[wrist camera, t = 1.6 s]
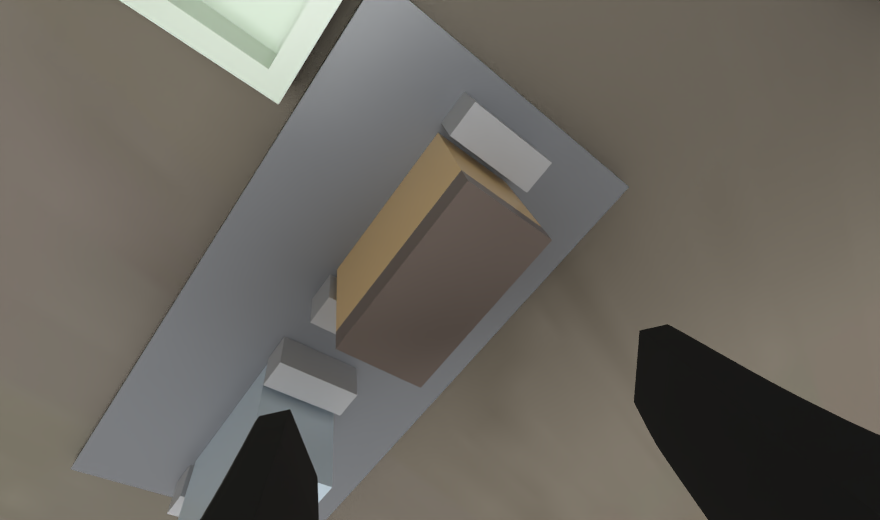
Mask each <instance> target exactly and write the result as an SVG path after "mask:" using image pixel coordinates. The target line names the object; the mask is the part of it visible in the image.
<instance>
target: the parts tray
mask: <svg viewBox="0 0 880 520" xmlns="http://www.w3.org/2000/svg"><path fill="white" fill-rule="evenodd" d="M120 1H121V2H123V3H124V4H126V5H127V6H129V7H130V8H132V9H134V10H135V11H137V12H138V13H140V14H141V15H143V16H144V17H146V18H147V19H149V20H150V21H152V22H153V23H155V24H156V25H158V26H159V27H161V28H163V29H164V30H166V31H167V32H169V33H170V34H172V35H173V36H175V37H176V38H178V39H179V40H181V41H182V42H184V43H185V44H187V45H188V46H190V47H192V48H193V49H195V50H196V51H198V52H199V53H201V54H202V55H204V56H205V57H207V58H208V59H210V60H211V61H213V62H214V63H216V64H218V65H219V66H221V67H222V68H224V69H225V70H227V71H228V72H230V73H231V74H233V75H234V76H236V77H237V78H239V79H240V80H242V81H243V82H245V83H247V84H248V85H250V86H251V87H253V88H254V89H256V90H257V91H259V92H260V93H262V94H263V95H265V96H266V97H268V98H269V99H271V100H272V101H274V102H276V103H277V104H279V103H280V101H281V100H282V98H283V96H284V95H285V93H286V92H287V90H288V88H289V87H290V85H291V83H292V82H293V80H294V78H295V77H296V75H297V74H298V72H299V70H300V69H301V67H302V65H303V64H304V62H305V60H306V59H307V57H308V56H309V54H310V52H311V51H312V49H313V47H314V46H315V44H316V42H317V41H318V39H319V38H320V36H321V34H322V33H323V31H324V29H325V28H326V26H327V24H328V23H329V21H330V20H331V18H332V16H333V15H334V13H335V11H336V10H337V8H338V6H339V5H340V3H341V1H342V0H120Z"/></svg>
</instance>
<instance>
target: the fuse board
mask: <svg viewBox="0 0 880 520" xmlns="http://www.w3.org/2000/svg"><path fill="white" fill-rule="evenodd" d="M437 133H439V134H441V135H442V136H443V137H445V138H446V139H447V140H449V141H450V142H452V143H453V144H454V145H456V146H457V147H458V148H460V149H461V150H462V151H464V152H465V153H466V154H468V155H469V156H471V157H472V158H473V159H475V160H476V161H477V162H479V163H480V164H481V165H483V166H484V167H486V168H487V169H488V170H490V171H491V172H492V173H494V174H495V175H496V176H498V177H499V178H501V179H502V180H503V181H505V182H506V183H507V185H508V186H509V187H510V188H511V190H512V191H513V192H514V193H515V195H516V196H517V197H518V198H519V200H520V201H521V202H522V203H523V204H524V206H525V207H526V208H527V209H528V211H529V212H530V213H531V214H532V216H533V217H534V218H535V219H536V221H537V222H538V223H539V224H540V226H541V227H542V228H543V229H544V231H545V232H546V233H547V234H548V236H549V237H550V238H551V239H552V241H551V242H550V243H549V244H548V245H547V246H546V248H545V249H544V250H543V251H542V252H541V253H540V254H539V255H538V257H537V258H536V259H535V260H534V261H533V262H532V263H531V264H530V266H529V267H528V268H527V269H526V270H525V271H524V272H523V273H522V275H521V276H520V277H519V278H518V279H517V280H516V281H515V282H514V284H513V285H512V286H511V287H510V288H509V289H508V290H507V291H506V293H505V294H504V295H503V296H502V297H501V298H500V299H499V300H498V302H497V303H496V304H495V305H494V306H493V307H492V308H491V309H490V311H489V312H488V313H487V314H486V315H485V316H484V317H483V318H482V320H481V321H480V322H479V323H478V324H477V325H476V326H475V327H474V329H473V330H472V331H471V332H470V333H469V334H468V335H467V336H466V338H465V339H464V340H463V341H462V342H461V343H460V344H459V345H458V347H457V348H456V349H455V350H454V351H453V352H452V353H451V354H450V356H449V357H448V358H447V359H446V360H445V361H444V362H443V363H442V365H441V366H440V367H439V368H438V369H437V370H436V371H435V372H434V374H433V375H432V376H431V377H430V378H429V379H428V380H427V381H426V383H425V384H424V385H423V386H422V387H421V388H420V387H417V386H415V385H413V384H411V383H409V382H407V381H404V380H402V379H400V378H398V377H396V376H393V375H391V374H389V373H387V372H385V371H383V370H380V369H378V368H376V367H374V366H372V365H370V364H367V363H365V362H363V361H361V360H359V359H356V358H354V357H352V356H350V355H348V354H346V353H343V352H341V351H339V350H337V349H336V302H337V269H338V268H339V266H340V265H341V263H342V262H343V261H344V259H345V258H346V257H347V255H348V254H349V253H350V251H351V250H352V249H353V247H354V246H355V245H356V243H357V242H358V240H359V239H360V238H361V236H362V235H363V234H364V232H365V231H366V230H367V228H368V227H369V226H370V224H371V223H372V221H373V220H374V219H375V217H376V216H377V215H378V213H379V212H380V211H381V209H382V208H383V207H384V205H385V204H386V202H387V201H388V200H389V198H390V197H391V196H392V194H393V193H394V192H395V190H396V189H397V188H398V186H399V185H400V184H401V182H402V181H403V179H404V178H405V177H406V175H407V174H408V173H409V171H410V170H411V169H412V167H413V166H414V165H415V163H416V162H417V160H418V159H419V158H420V156H421V155H422V154H423V152H424V151H425V150H426V148H427V147H428V146H429V144H430V143H431V142H432V140H433V139H434V137H435V136H436V135H437ZM628 188H629V186H627V185H626V184H625V183H624V182H623V181H622V180H620V179H619V178H618V177H617V176H616V175H615V174H613V173H612V172H611V171H610V170H609V169H607V168H606V167H605V166H604V165H603V164H602V163H600V162H599V161H598V160H597V159H596V158H594V157H593V156H592V155H591V154H590V153H589V152H587V151H586V150H585V149H584V148H583V147H581V146H580V145H579V144H578V143H577V142H576V141H574V140H573V139H572V138H571V137H570V136H569V135H567V134H566V133H565V132H564V131H563V130H561V129H560V128H559V127H558V126H557V125H556V124H554V123H553V122H552V121H551V120H550V119H548V118H547V117H546V116H545V115H544V114H543V113H541V112H540V111H539V110H538V109H537V108H535V107H534V106H533V105H532V104H531V103H530V102H528V101H527V100H526V99H525V98H524V97H523V96H521V95H520V94H519V93H518V92H517V91H515V90H514V89H513V88H512V87H511V86H510V85H508V84H507V83H506V82H505V81H504V80H502V79H501V78H500V77H499V76H498V75H497V74H495V73H494V72H493V71H492V70H491V69H490V68H488V67H487V66H486V65H485V64H484V63H482V62H481V61H480V60H479V59H478V58H477V57H475V56H474V55H473V54H472V53H471V52H469V51H468V50H467V49H466V48H465V47H464V46H462V45H461V44H460V43H459V42H458V41H456V40H455V39H454V38H453V37H452V36H451V35H449V34H448V33H447V32H446V31H445V30H444V29H442V28H441V27H440V26H439V25H438V24H436V23H435V22H434V21H433V20H432V19H431V18H429V17H428V16H427V15H426V14H425V13H423V12H422V11H421V10H420V9H419V8H418V7H416V6H415V5H414V4H413V3H412V2H411V1H409V0H362V1H361V3H360V5H359V6H358V8H357V9H356V11H355V13H354V14H353V16H352V17H351V19H350V21H349V22H348V24H347V25H346V27H345V29H344V30H343V32H342V33H341V35H340V37H339V38H338V40H337V41H336V43H335V45H334V46H333V48H332V49H331V51H330V53H329V54H328V56H327V58H326V59H325V61H324V62H323V64H322V66H321V67H320V69H319V70H318V72H317V74H316V75H315V77H314V78H313V80H312V82H311V83H310V85H309V86H308V88H307V90H306V91H305V93H304V94H303V96H302V98H301V99H300V101H299V102H298V104H297V106H296V107H295V109H294V110H293V112H292V114H291V115H290V117H289V118H288V120H287V122H286V123H285V125H284V126H283V128H282V130H281V131H280V133H279V134H278V136H277V138H276V139H275V141H274V142H273V144H272V146H271V147H270V149H269V150H268V152H267V154H266V155H265V157H264V159H263V160H262V162H261V163H260V165H259V167H258V168H257V170H256V171H255V173H254V175H253V176H252V178H251V179H250V181H249V183H248V184H247V186H246V187H245V189H244V191H243V192H242V194H241V195H240V197H239V199H238V200H237V202H236V203H235V205H234V207H233V208H232V210H231V211H230V213H229V215H228V216H227V218H226V219H225V221H224V223H223V224H222V226H221V227H220V229H219V231H218V232H217V234H216V235H215V237H214V239H213V240H212V242H211V243H210V245H209V247H208V248H207V250H206V251H205V253H204V255H203V256H202V258H201V260H200V261H199V263H198V264H197V266H196V268H195V269H194V271H193V272H192V274H191V276H190V277H189V279H188V280H187V282H186V284H185V285H184V287H183V288H182V290H181V292H180V293H179V295H178V296H177V298H176V300H175V301H174V303H173V304H172V306H171V308H170V309H169V311H168V312H167V314H166V316H165V317H164V319H163V320H162V322H161V324H160V325H159V327H158V328H157V330H156V332H155V333H154V335H153V336H152V338H151V340H150V341H149V343H148V344H147V346H146V348H145V349H144V351H143V352H142V354H141V356H140V357H139V359H138V361H137V362H136V364H135V365H134V367H133V369H132V370H131V372H130V373H129V375H128V377H127V378H126V380H125V381H124V383H123V385H122V386H121V388H120V389H119V391H118V393H117V394H116V396H115V397H114V399H113V401H112V402H111V404H110V405H109V407H108V409H107V410H106V412H105V413H104V415H103V417H102V418H101V420H100V421H99V423H98V425H97V426H96V428H95V429H94V431H93V433H92V434H91V436H90V437H89V439H88V441H87V442H86V444H85V445H84V447H83V449H82V450H81V452H80V453H79V455H78V457H77V458H76V460H75V462H74V464H73V465H72V467H71V469H72V470H75V471H79V472H83V473H86V474H90V475H93V476H97V477H101V478H104V479H108V480H112V481H115V482H119V483H122V484H126V485H130V486H133V487H137V488H141V489H144V490H148V491H151V492H155V493H159V494H162V495H166V496H170V497H172V500H171V503H170V506H169V509H168V512H167V514H170V515H174V516H178V517H179V514H180V511H181V508H182V505H183V501H184V498H185V495H186V491H187V488H188V485H189V482H190V478H191V475H192V472H193V468H194V465H195V462H196V460H197V459H198V457H199V456H200V455H201V453H202V452H203V450H204V449H205V448H206V446H207V445H208V444H209V442H210V441H211V440H212V438H213V437H214V436H215V434H216V433H217V432H218V430H219V429H220V427H221V426H222V425H223V423H224V422H225V421H226V419H227V418H228V417H229V415H230V414H231V413H232V411H233V410H234V408H235V407H236V406H237V404H238V403H239V402H240V400H241V399H242V398H243V396H244V395H245V394H246V392H247V391H248V389H249V388H250V387H251V385H252V384H253V383H254V381H255V380H256V379H257V377H258V376H259V375H260V373H261V372H262V371H263V369H264V368H265V366H266V365H267V369H266V374H265V379H264V384H263V385H264V386H267V387H269V388H272V389H274V390H277V391H279V392H282V393H284V394H287V395H289V396H292V397H294V398H297V399H299V400H302V401H304V402H307V403H309V404H312V405H314V406H317V407H319V408H322V409H325V410H327V411H330V412H332V413H334V427H333V476H332V488H331V489H330V490H329V492H328V493H327V494H326V495H325V496H324V497H323V498H322V499H321V501H320V502H319V503H318V505H319V520H326V519H327V518H328V517H329V516H330V515H331V514H332V512H333V511H334V510H335V509H336V508H337V507H338V506H339V505H340V504H341V503H342V501H343V500H344V499H345V498H346V497H347V496H348V495H349V494H350V493H351V492H352V490H353V489H354V488H355V487H356V486H357V485H358V484H359V483H360V482H361V481H362V479H363V478H364V477H365V476H366V475H367V474H368V473H369V472H370V471H371V470H372V469H373V467H374V466H375V465H376V464H377V463H378V462H379V461H380V460H381V459H382V458H383V456H384V455H385V454H386V453H387V452H388V451H389V450H390V449H391V448H392V447H393V445H394V444H395V443H396V442H397V441H398V440H399V439H400V438H401V437H402V436H403V435H404V433H405V432H406V431H407V430H408V429H409V428H410V427H411V426H412V425H413V424H414V422H415V421H416V420H417V419H418V418H419V417H420V416H421V415H422V414H423V413H424V411H425V410H426V409H427V408H428V407H429V406H430V405H431V404H432V403H433V402H434V400H435V399H436V398H437V397H438V396H439V395H440V394H441V393H442V392H443V391H444V390H445V388H446V387H447V386H448V385H449V384H450V383H451V382H452V381H453V380H454V379H455V377H456V376H457V375H458V374H459V373H460V372H461V371H462V370H463V369H464V368H465V366H466V365H467V364H468V363H469V362H470V361H471V360H472V359H473V358H474V357H475V356H476V354H477V353H478V352H479V351H480V350H481V349H482V348H483V347H484V346H485V345H486V343H487V342H488V341H489V340H490V339H491V338H492V337H493V336H494V335H495V334H496V332H497V331H498V330H499V329H500V328H501V327H502V326H503V325H504V324H505V323H506V321H507V320H508V319H509V318H510V317H511V316H512V315H513V314H514V313H515V312H516V311H517V309H518V308H519V307H520V306H521V305H522V304H523V303H524V302H525V301H526V300H527V298H528V297H529V296H530V295H531V294H532V293H533V292H534V291H535V290H536V289H537V287H538V286H539V285H540V284H541V283H542V282H543V281H544V280H545V279H546V278H547V277H548V275H549V274H550V273H551V272H552V271H553V270H554V269H555V268H556V267H557V266H558V264H559V263H560V262H561V261H562V260H563V259H564V258H565V257H566V256H567V255H568V253H569V252H570V251H571V250H572V249H573V248H574V247H575V246H576V245H577V244H578V242H579V241H580V240H581V239H582V238H583V237H584V236H585V235H586V234H587V233H588V232H589V230H590V229H591V228H592V227H593V226H594V225H595V224H596V223H597V222H598V221H599V219H600V218H601V217H602V216H603V215H604V214H605V213H606V212H607V211H608V210H609V208H610V207H611V206H612V205H613V204H614V203H615V202H616V201H617V200H618V199H619V198H620V196H621V195H622V194H623V193H624V192H625V191H626V190H627V189H628Z"/></svg>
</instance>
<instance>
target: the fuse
mask: <svg viewBox="0 0 880 520" xmlns="http://www.w3.org/2000/svg"><path fill="white" fill-rule="evenodd" d="M266 369H267V365H266V366H265V368H264V369H263V371H262V372H261V373H260V375H259V376H258V377H257V379H256V380H255V381H254V383H253V384H252V385H251V387H250V388H249V389H248V391H247V392H246V394H245V395H244V396H243V398H242V399H241V400H240V402H239V403H238V404H237V406H236V407H235V408H234V410H233V411H232V413H231V414H230V415H229V417H228V418H227V419H226V421H225V422H224V423H223V425H222V426H221V427H220V429H219V430H218V432H217V433H216V434H215V436H214V437H213V438H212V440H211V441H210V442H209V444H208V445H207V446H206V448H205V449H204V450H203V452H202V453H201V455H200V456H199V457H198V459H197V460H196V462H195V465H194V468H193V472H192V475H191V478H190V482H189V485H188V488H187V491H186V495H185V498H184V501H183V505H182V508H181V511H180V514H179V518H178V520H200V519H201V517H202V516H203V514H204V512H205V510H206V509H207V507H208V505H209V504H210V502H211V500H212V499H213V497H214V495H215V493H216V492H217V490H218V488H219V487H220V485H221V483H222V481H223V479H224V478H225V476H226V474H227V472H228V471H229V469H230V467H231V465H232V463H233V461H234V460H235V458H236V456H237V454H238V452H239V450H240V449H241V447H242V445H243V443H244V441H245V439H246V437H247V436H248V434H249V432H250V430H251V428H252V426H253V424H254V423H255V421H256V420H257V418H258V417H259V416H262V415H266V414H271V413H275V412H280V411H284V410H289V409H290V410H291V412H292V415H293V417H294V420H295V422H296V425H297V427H298V429H299V432H300V434H301V437H302V439H303V442H304V444H305V447H306V449H307V452H308V454H309V457H310V459H311V462H312V464H313V467H314V469H315V472H316V474H317V477H318V503H319V502H320V501H321V499H322V498H323V497H324V496H325V495H326V494H327V493H328V492H329V490H330V489H331V488H332V476H333V427H334V413H332V412H330V411H327V410H325V409H322V408H319V407H317V406H314V405H312V404H309V403H307V402H304V401H302V400H299V399H297V398H294V397H292V396H289V395H287V394H284V393H282V392H279V391H277V390H274V389H272V388H269V387H267V386H264V385H263V384H264V379H265V374H266Z"/></svg>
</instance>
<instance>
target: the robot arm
mask: <svg viewBox="0 0 880 520" xmlns="http://www.w3.org/2000/svg"><path fill="white" fill-rule="evenodd" d="M634 403H635V405H636V407H637V409H638V411H639V413H640V415H641V417H642V419H643V421H644V423H645V424H646V426H647V428H648V430H649V432H650V434H651V436H652V437H653V439H654V441H655V443H656V445H657V446H658V448H659V449H660V451H661V452H662V454H663V455H664V457H665V458H666V460H667V461H668V463H669V464H670V466H671V467H672V468H673V470H674V471H675V473H676V474H677V476H678V477H679V479H680V480H681V482H682V483H683V484H684V486H685V487H686V489H687V490H688V492H689V493H690V494H691V496H692V497H693V499H694V500H695V502H696V503H697V504H698V506H699V507H700V509H701V510H702V512H703V513H704V514H705V516H706V517H707V519H708V520H880V435H878V434H875V433H873V432H871V431H869V430H867V429H864V428H862V427H860V426H858V425H856V424H853V423H851V422H849V421H847V420H845V419H843V418H841V417H839V416H837V415H835V414H833V413H831V412H829V411H827V410H825V409H823V408H821V407H819V406H817V405H814V404H812V403H810V402H808V401H806V400H804V399H802V398H801V397H799V396H797V395H795V394H793V393H791V392H789V391H787V390H785V389H783V388H781V387H779V386H778V385H776V384H774V383H772V382H770V381H768V380H766V379H765V378H763V377H761V376H759V375H757V374H755V373H754V372H752V371H750V370H748V369H746V368H745V367H743V366H741V365H739V364H737V363H736V362H734V361H732V360H730V359H729V358H727V357H725V356H723V355H722V354H720V353H718V352H716V351H715V350H713V349H711V348H709V347H708V346H706V345H704V344H702V343H701V342H699V341H697V340H695V339H693V338H692V337H690V336H688V335H686V334H685V333H683V332H681V331H679V330H677V329H675V328H673V327H672V326H670V325H668V324H667V325H663V326H658V327H654V328H649V329H645V330H641V331H640V333H639V345H638V358H637V370H636V382H635V395H634ZM200 520H319V505H318V477H317V474H316V472H315V469H314V467H313V464H312V462H311V459H310V457H309V454H308V452H307V449H306V447H305V444H304V442H303V439H302V437H301V434H300V432H299V429H298V427H297V425H296V422H295V420H294V417H293V415H292V412H291V410H290V409H289V410H284V411H280V412H275V413H271V414H266V415H262V416H259V417H258V418H257V420H256V421H255V423H254V424H253V426H252V428H251V430H250V432H249V434H248V436H247V437H246V439H245V441H244V443H243V445H242V447H241V449H240V450H239V452H238V454H237V456H236V458H235V460H234V461H233V463H232V465H231V467H230V469H229V471H228V472H227V474H226V476H225V478H224V479H223V481H222V483H221V485H220V487H219V488H218V490H217V492H216V493H215V495H214V497H213V499H212V500H211V502H210V504H209V505H208V507H207V509H206V510H205V512H204V514H203V516H202V517H201V519H200Z"/></svg>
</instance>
